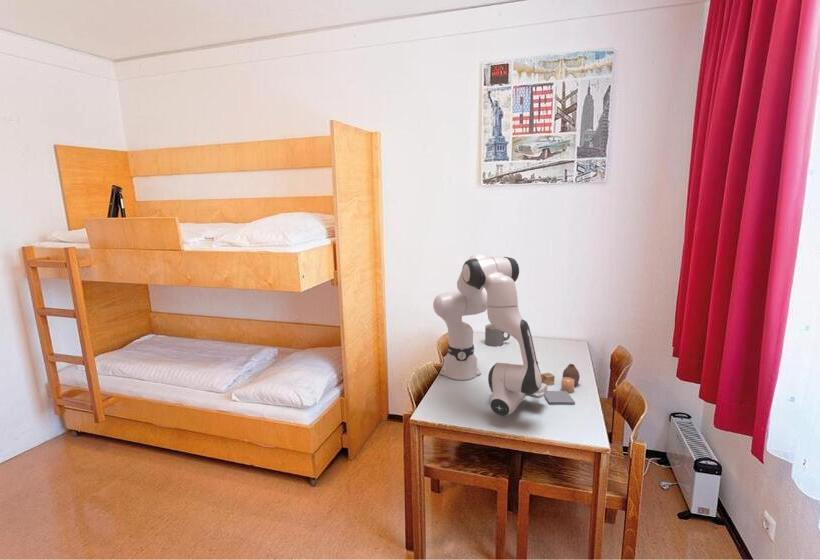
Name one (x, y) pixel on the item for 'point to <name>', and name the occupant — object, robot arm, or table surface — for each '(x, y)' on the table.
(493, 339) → the coffee mug
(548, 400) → the grey pad
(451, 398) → the table surface
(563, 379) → the peach rounded cylinder
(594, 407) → the table surface
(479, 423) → the table surface
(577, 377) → the vase
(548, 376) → the oak cube
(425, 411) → the table surface
